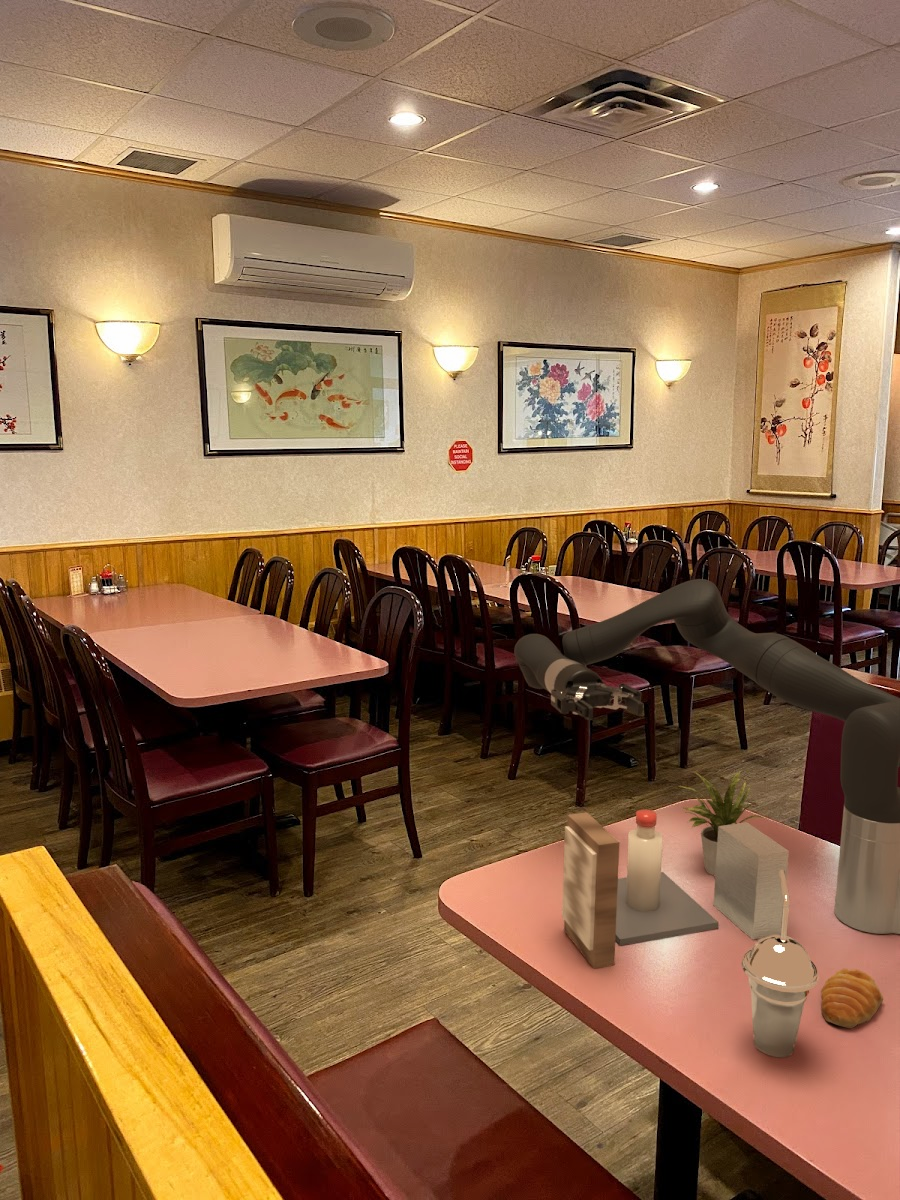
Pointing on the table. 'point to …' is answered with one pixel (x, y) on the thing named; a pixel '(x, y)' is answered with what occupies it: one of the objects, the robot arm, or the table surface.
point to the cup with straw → (778, 986)
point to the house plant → (717, 817)
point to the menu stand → (590, 888)
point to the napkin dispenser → (749, 879)
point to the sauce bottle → (644, 863)
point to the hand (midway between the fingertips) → (615, 711)
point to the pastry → (850, 998)
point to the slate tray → (660, 915)
